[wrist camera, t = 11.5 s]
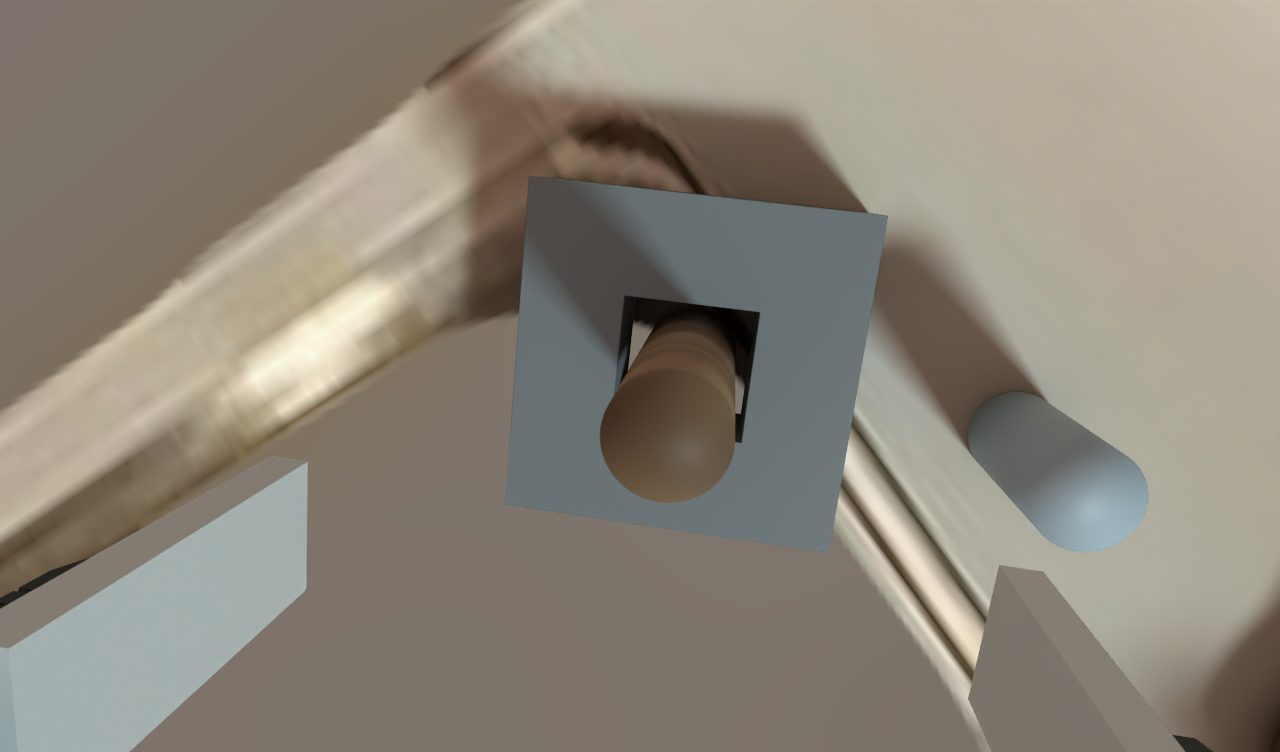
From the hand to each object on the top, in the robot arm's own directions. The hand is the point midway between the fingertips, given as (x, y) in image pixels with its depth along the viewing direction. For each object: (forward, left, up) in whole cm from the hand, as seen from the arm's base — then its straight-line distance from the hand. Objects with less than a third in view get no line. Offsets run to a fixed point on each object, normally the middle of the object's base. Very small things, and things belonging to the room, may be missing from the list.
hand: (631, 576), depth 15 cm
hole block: (0, 0, -23) cm, 23 cm away
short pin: (+2, +15, -23) cm, 27 cm away
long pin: (0, 0, -23) cm, 23 cm away
